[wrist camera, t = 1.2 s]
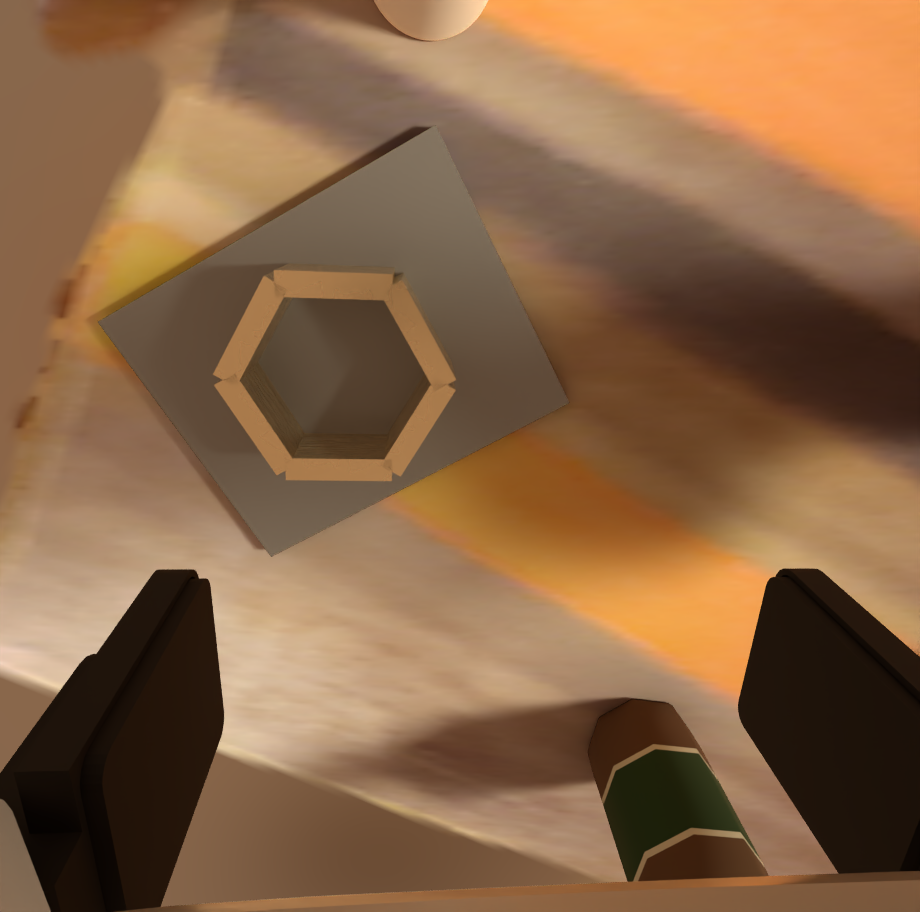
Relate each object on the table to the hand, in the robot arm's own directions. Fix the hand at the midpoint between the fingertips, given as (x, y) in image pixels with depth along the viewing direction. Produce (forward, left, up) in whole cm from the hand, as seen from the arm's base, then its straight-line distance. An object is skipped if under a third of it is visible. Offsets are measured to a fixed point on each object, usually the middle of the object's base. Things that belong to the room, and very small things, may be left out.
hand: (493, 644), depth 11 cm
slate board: (+5, -1, -27) cm, 28 cm away
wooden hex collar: (+5, -1, -27) cm, 28 cm away
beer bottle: (+1, +33, -28) cm, 43 cm away
